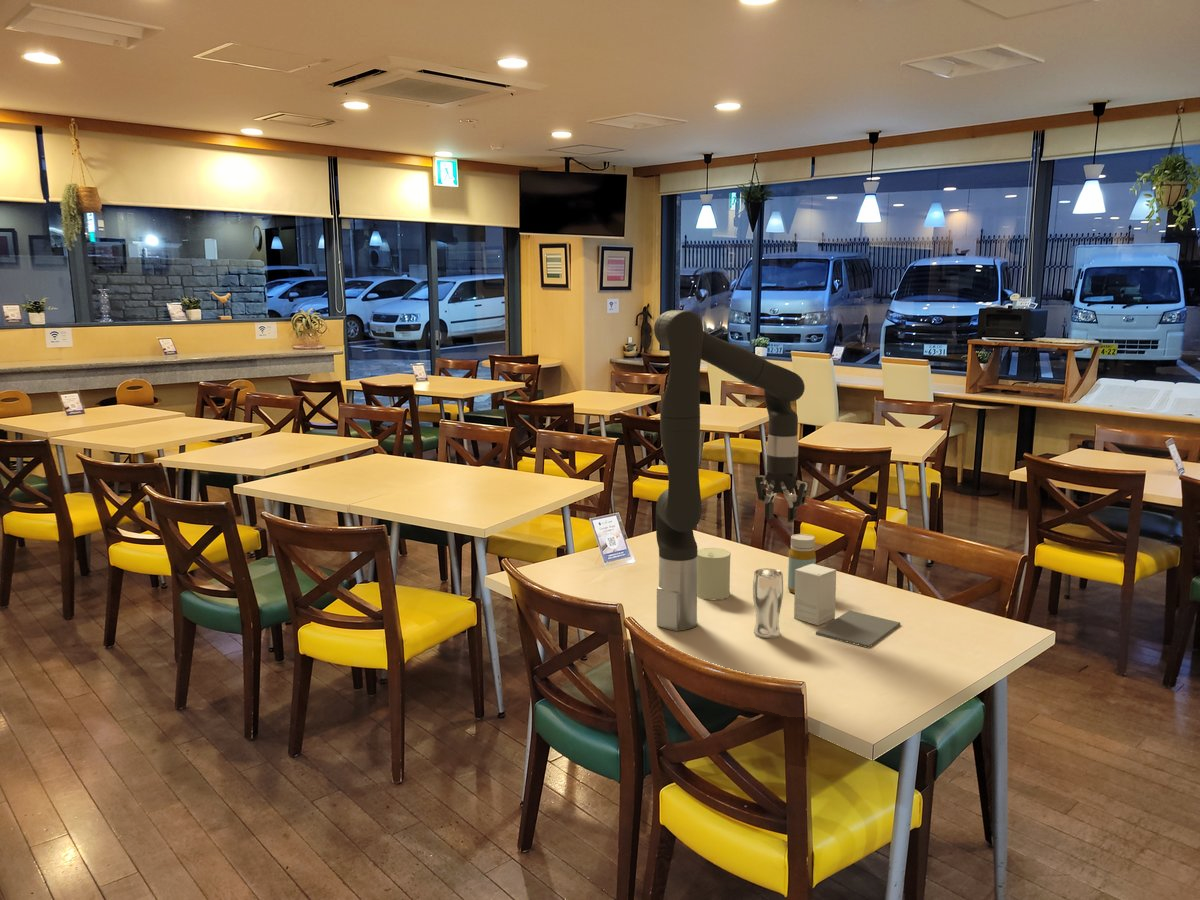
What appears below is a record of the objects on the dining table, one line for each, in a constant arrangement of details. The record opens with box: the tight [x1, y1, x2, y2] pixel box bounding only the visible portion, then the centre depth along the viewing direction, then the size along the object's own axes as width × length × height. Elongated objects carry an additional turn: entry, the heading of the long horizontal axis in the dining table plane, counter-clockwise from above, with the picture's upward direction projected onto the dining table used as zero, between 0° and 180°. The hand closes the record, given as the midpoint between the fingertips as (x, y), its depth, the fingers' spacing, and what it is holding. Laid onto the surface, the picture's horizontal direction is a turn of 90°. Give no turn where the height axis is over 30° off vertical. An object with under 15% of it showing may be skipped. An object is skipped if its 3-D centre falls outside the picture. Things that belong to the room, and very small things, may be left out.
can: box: [697, 547, 731, 601], centre depth 232 cm, size 9×9×12 cm
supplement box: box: [793, 564, 837, 626], centre depth 215 cm, size 7×7×13 cm
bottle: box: [787, 533, 817, 594], centre depth 234 cm, size 7×7×15 cm
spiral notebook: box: [815, 610, 901, 648], centre depth 208 cm, size 18×13×1 cm
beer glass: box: [752, 567, 784, 639], centre depth 205 cm, size 7×7×15 cm
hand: (780, 519), depth 218 cm, fingers open, 5 cm apart
